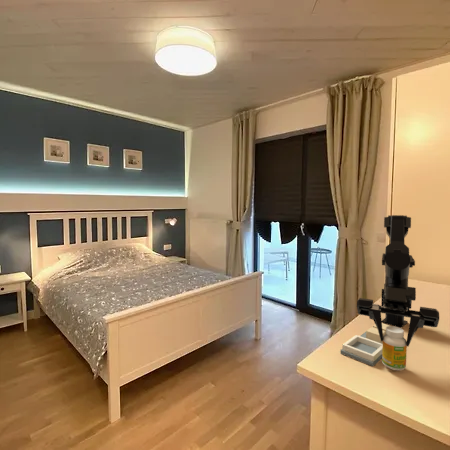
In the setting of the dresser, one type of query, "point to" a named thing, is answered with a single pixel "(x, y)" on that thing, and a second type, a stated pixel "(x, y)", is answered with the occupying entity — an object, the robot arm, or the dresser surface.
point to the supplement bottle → (394, 348)
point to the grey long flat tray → (365, 346)
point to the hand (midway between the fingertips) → (394, 343)
